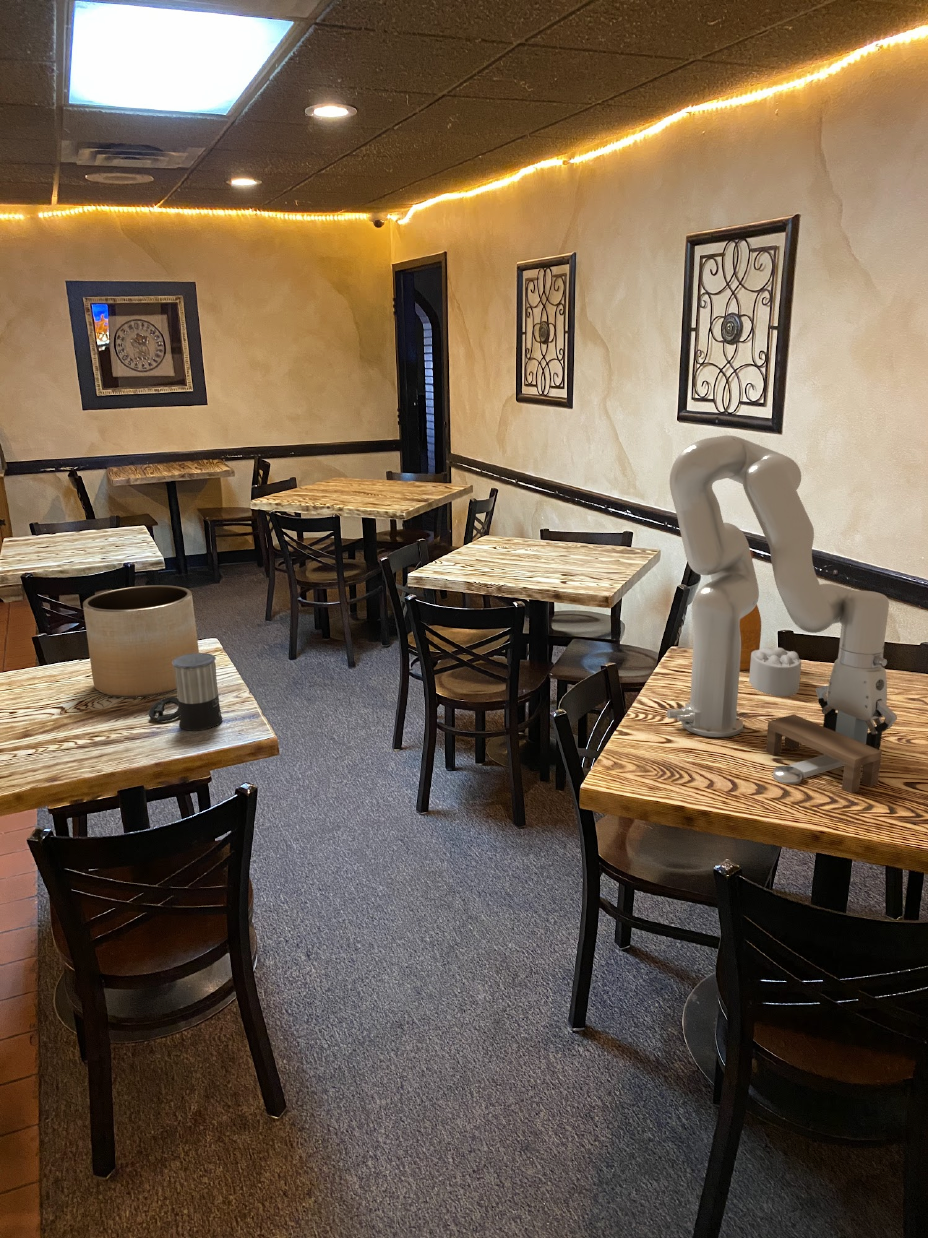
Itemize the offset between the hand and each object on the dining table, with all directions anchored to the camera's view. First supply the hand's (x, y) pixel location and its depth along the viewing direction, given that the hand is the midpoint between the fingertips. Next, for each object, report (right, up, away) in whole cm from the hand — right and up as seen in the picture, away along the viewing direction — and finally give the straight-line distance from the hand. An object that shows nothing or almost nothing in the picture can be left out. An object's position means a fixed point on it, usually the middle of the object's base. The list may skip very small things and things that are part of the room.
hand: (850, 742), depth 166 cm
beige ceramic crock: (-153, +8, +50) cm, 161 cm away
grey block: (-5, -4, -2) cm, 7 cm away
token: (-15, -6, -6) cm, 17 cm away
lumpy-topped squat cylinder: (0, +7, +39) cm, 40 cm away
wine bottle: (-4, +12, +54) cm, 55 cm away
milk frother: (-136, +1, +26) cm, 138 cm away
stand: (-7, -4, -3) cm, 9 cm away
